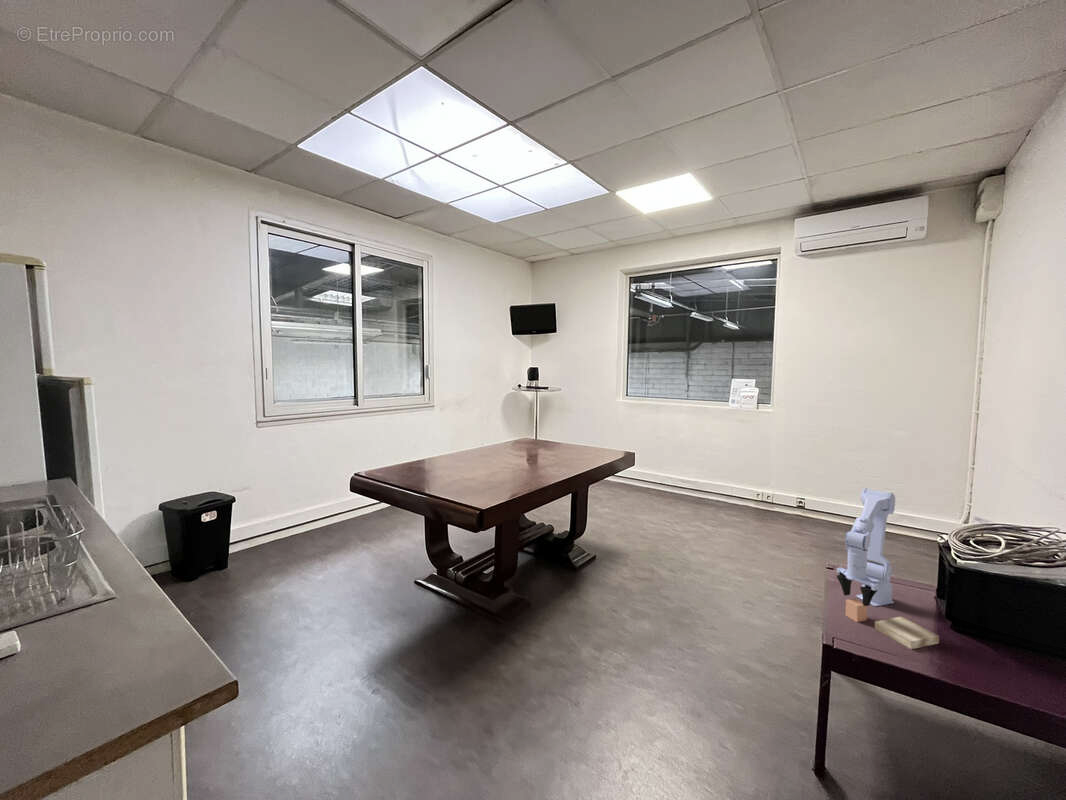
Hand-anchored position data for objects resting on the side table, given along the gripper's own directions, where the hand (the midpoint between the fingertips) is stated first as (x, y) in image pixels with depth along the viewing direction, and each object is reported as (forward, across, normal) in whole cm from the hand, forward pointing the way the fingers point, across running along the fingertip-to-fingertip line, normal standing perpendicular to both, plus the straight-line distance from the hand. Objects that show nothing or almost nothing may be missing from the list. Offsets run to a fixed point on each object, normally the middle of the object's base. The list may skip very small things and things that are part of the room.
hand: (856, 600), depth 160 cm
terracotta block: (+7, 0, 0) cm, 7 cm away
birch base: (+7, +13, +6) cm, 16 cm away
